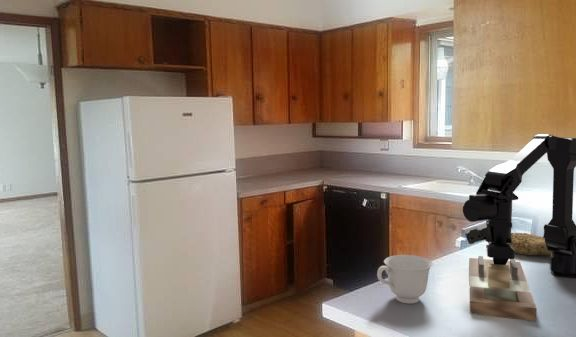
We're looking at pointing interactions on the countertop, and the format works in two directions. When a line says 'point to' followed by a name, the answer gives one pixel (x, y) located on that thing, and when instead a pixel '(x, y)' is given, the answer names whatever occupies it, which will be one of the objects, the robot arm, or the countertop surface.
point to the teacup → (406, 276)
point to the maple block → (498, 276)
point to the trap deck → (500, 292)
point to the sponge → (528, 244)
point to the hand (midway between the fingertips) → (497, 274)
